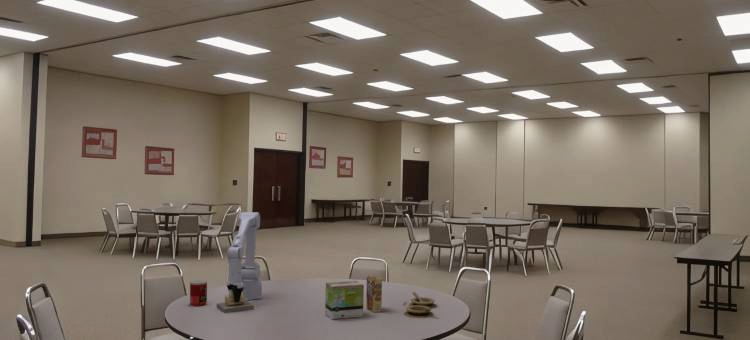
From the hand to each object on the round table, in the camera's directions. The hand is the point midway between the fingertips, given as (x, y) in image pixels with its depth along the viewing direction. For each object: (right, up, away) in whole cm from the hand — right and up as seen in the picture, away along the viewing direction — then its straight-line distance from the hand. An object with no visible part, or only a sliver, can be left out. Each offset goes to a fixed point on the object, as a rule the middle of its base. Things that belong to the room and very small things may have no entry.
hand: (235, 300), depth 268 cm
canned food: (-20, -4, +8) cm, 22 cm away
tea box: (+52, -4, -12) cm, 54 cm away
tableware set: (+88, -5, -1) cm, 88 cm away
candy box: (+66, -4, -2) cm, 66 cm away
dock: (0, -4, 0) cm, 4 cm away
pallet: (0, -1, 0) cm, 1 cm away
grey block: (0, +3, 0) cm, 3 cm away
